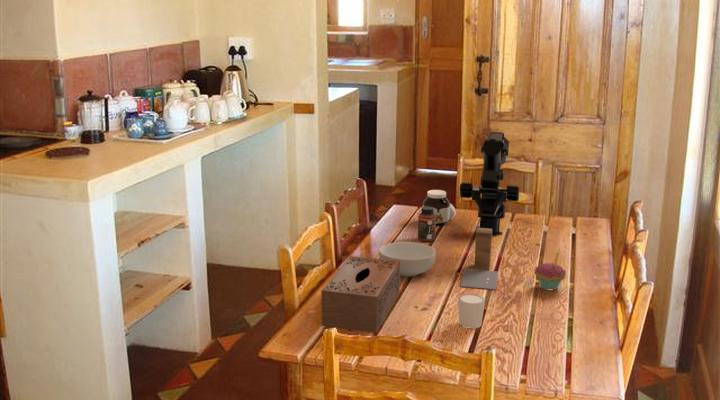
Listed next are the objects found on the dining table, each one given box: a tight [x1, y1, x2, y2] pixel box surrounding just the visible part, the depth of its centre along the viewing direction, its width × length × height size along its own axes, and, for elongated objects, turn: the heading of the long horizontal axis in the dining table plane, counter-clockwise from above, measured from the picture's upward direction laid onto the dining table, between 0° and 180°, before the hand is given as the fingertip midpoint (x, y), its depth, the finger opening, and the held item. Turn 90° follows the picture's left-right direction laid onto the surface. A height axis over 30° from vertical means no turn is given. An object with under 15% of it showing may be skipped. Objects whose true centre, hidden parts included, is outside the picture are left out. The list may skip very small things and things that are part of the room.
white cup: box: [457, 293, 486, 330], centre depth 189 cm, size 7×7×7 cm
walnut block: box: [473, 227, 493, 271], centre depth 227 cm, size 4×4×12 cm
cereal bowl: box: [378, 241, 437, 277], centre depth 224 cm, size 17×17×7 cm
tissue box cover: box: [320, 255, 401, 334], centre depth 197 cm, size 26×14×10 cm, turn 165°
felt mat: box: [460, 268, 499, 291], centre depth 219 cm, size 14×10×1 cm
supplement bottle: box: [417, 206, 437, 243], centre depth 252 cm, size 6×6×11 cm
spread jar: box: [421, 189, 456, 227], centre depth 271 cm, size 12×11×12 cm
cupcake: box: [534, 249, 567, 290], centre depth 212 cm, size 9×8×12 cm
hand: (487, 214), depth 235 cm, fingers open, 4 cm apart
